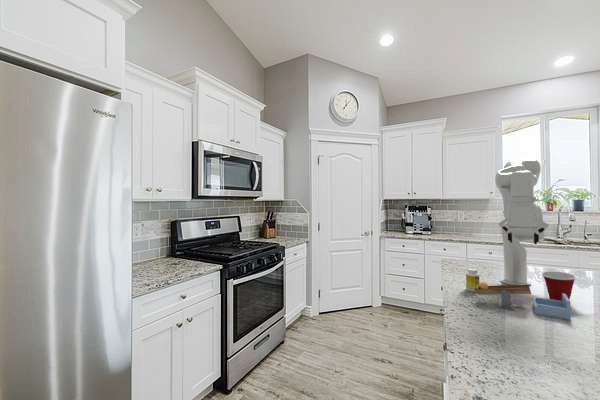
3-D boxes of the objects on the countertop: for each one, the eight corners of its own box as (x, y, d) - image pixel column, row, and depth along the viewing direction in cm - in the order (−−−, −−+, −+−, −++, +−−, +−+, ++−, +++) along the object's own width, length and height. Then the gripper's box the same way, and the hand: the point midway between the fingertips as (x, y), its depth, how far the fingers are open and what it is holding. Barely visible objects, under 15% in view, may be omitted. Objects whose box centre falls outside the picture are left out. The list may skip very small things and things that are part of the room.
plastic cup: (536, 299, 120) (535, 272, 120) (551, 296, 124) (550, 269, 124) (567, 308, 110) (566, 278, 110) (582, 304, 114) (582, 275, 114)
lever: (480, 287, 127) (478, 281, 128) (529, 286, 117) (527, 278, 117) (477, 295, 117) (476, 288, 118) (531, 294, 107) (529, 286, 107)
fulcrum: (499, 300, 120) (498, 284, 120) (513, 302, 117) (513, 286, 117) (498, 308, 112) (498, 290, 112) (514, 310, 109) (513, 292, 109)
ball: (480, 289, 121) (477, 281, 122) (489, 288, 119) (487, 280, 120) (480, 291, 118) (477, 283, 119) (489, 291, 116) (486, 282, 117)
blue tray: (532, 306, 113) (531, 289, 113) (565, 311, 107) (565, 293, 107) (534, 314, 105) (534, 296, 105) (570, 320, 99) (570, 301, 99)
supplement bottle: (476, 293, 130) (475, 271, 130) (464, 289, 135) (463, 269, 135) (481, 290, 133) (481, 269, 133) (469, 287, 138) (469, 267, 138)
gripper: (548, 200, 113) (549, 243, 113) (496, 201, 123) (497, 240, 123) (551, 200, 107) (552, 246, 107) (496, 201, 117) (497, 242, 117)
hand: (522, 242), depth 115 cm, fingers open, 7 cm apart
